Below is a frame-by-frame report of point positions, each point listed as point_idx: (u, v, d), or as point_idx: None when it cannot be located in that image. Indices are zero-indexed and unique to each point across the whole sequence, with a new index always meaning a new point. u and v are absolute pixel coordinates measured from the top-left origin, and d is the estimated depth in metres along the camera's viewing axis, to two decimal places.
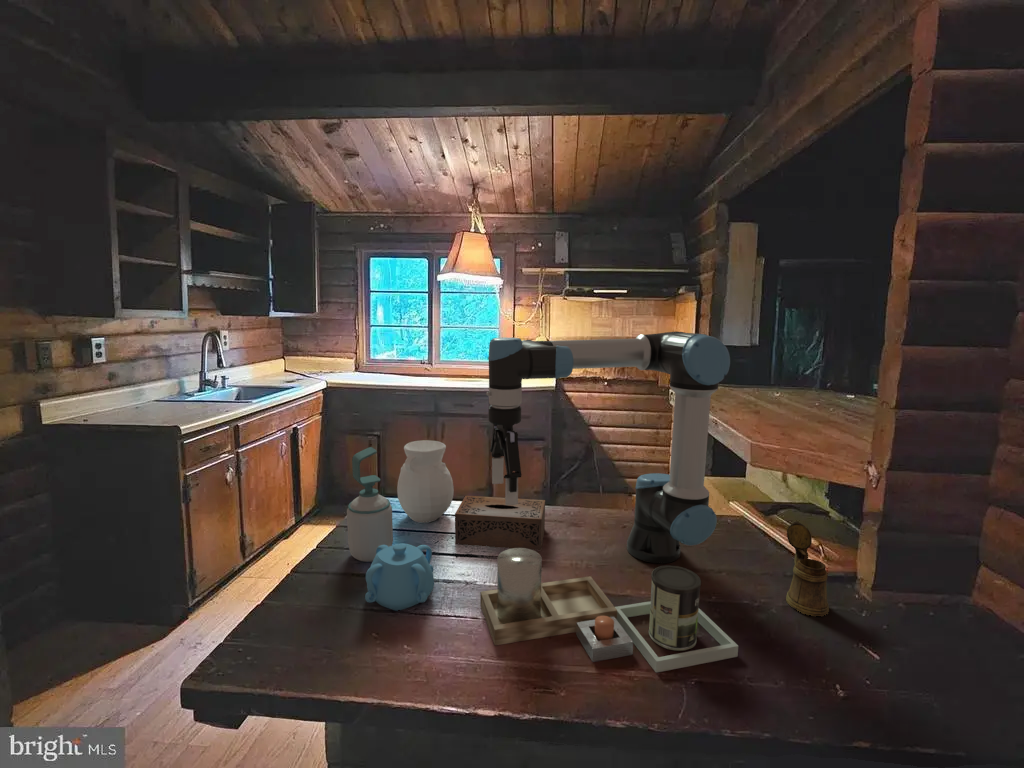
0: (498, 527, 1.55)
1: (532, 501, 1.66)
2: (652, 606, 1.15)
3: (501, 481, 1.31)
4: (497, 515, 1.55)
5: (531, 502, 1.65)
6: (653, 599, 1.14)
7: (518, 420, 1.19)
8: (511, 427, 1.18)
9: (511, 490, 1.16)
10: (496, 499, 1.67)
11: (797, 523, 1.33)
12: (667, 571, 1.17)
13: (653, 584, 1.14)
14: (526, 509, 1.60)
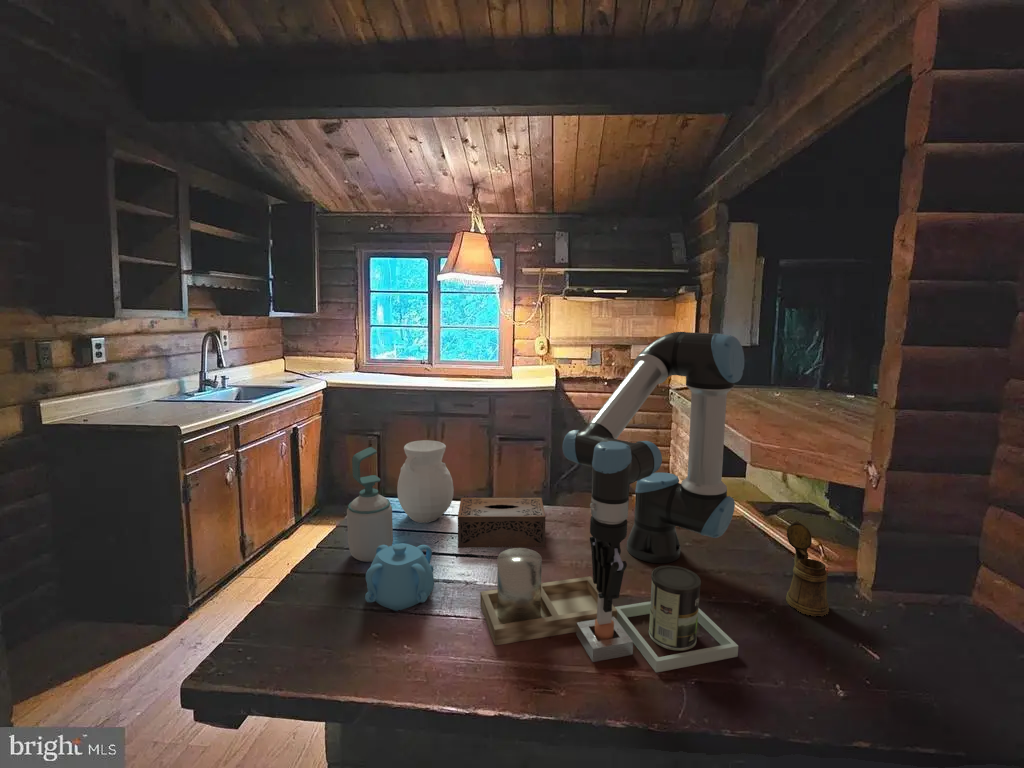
0: (502, 527, 1.55)
1: (529, 499, 1.68)
2: (652, 606, 1.15)
3: None
4: (501, 515, 1.55)
5: (529, 500, 1.67)
6: (653, 599, 1.14)
7: (625, 535, 1.07)
8: (618, 544, 1.06)
9: (606, 610, 1.10)
10: (493, 499, 1.67)
11: (797, 523, 1.33)
12: (667, 571, 1.17)
13: (653, 584, 1.14)
14: (526, 507, 1.61)
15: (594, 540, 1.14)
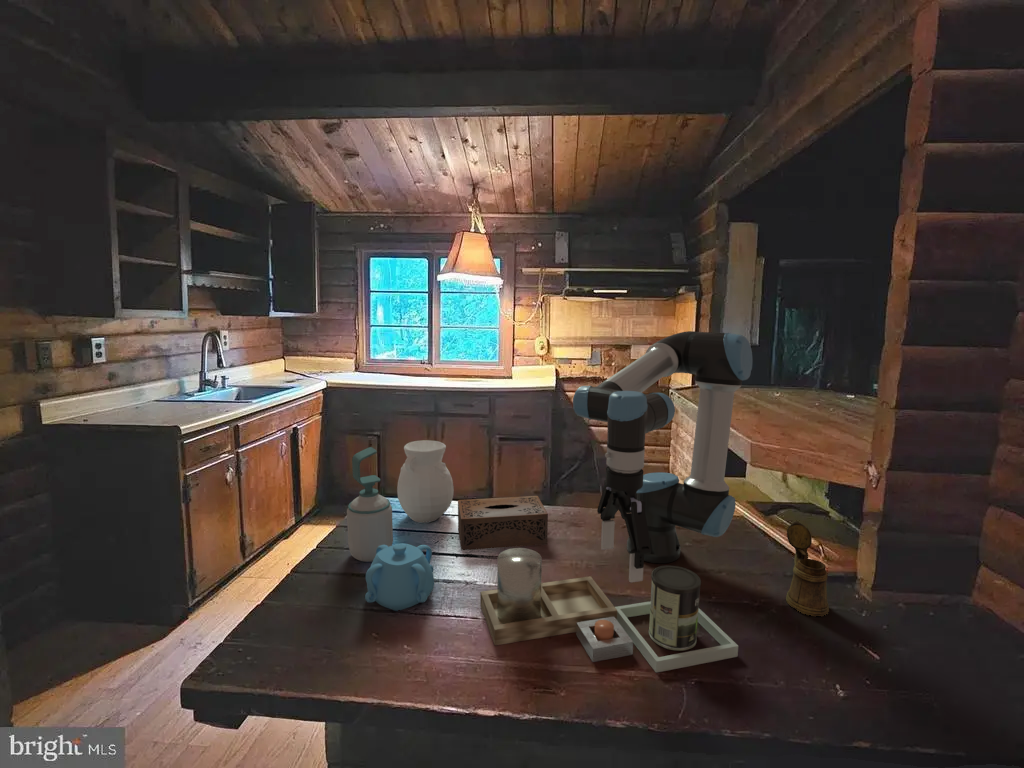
0: (505, 526, 1.55)
1: (526, 497, 1.69)
2: (652, 606, 1.15)
3: (611, 546, 1.17)
4: (504, 515, 1.55)
5: (526, 499, 1.68)
6: (653, 599, 1.14)
7: (641, 485, 1.06)
8: (635, 494, 1.05)
9: (638, 566, 1.02)
10: (491, 500, 1.67)
11: (797, 523, 1.33)
12: (667, 571, 1.17)
13: (653, 584, 1.14)
14: (526, 506, 1.62)
15: None
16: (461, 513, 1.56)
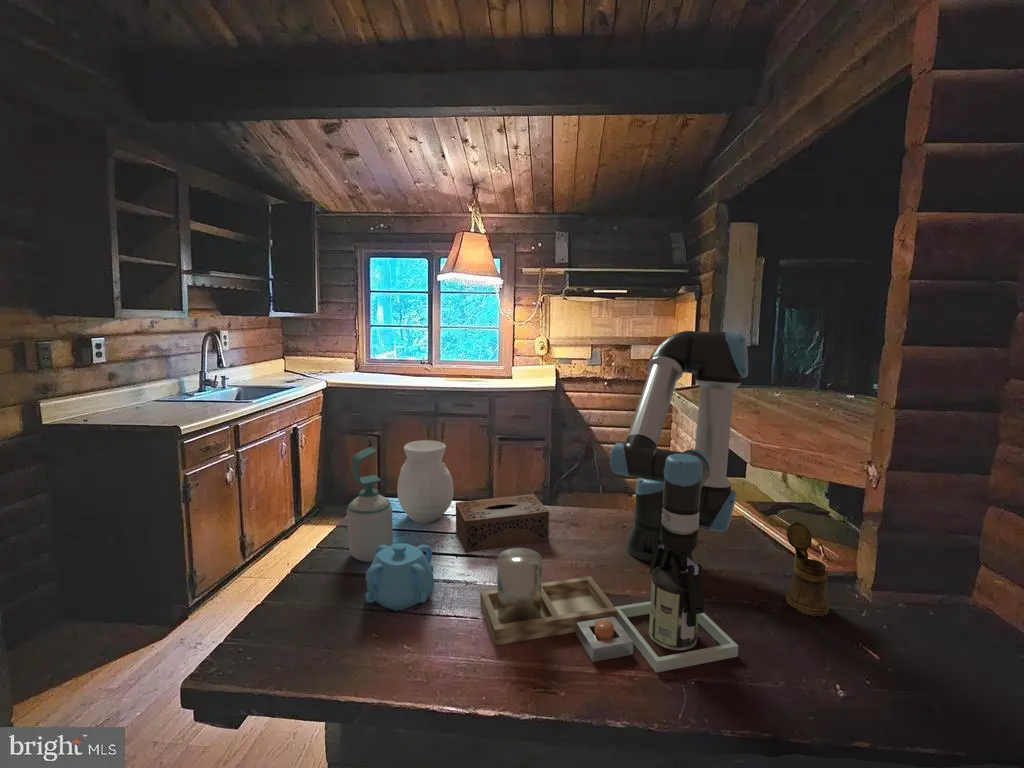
0: (508, 526, 1.56)
1: (523, 496, 1.70)
2: (652, 606, 1.15)
3: None
4: (506, 515, 1.56)
5: (523, 498, 1.69)
6: (653, 599, 1.14)
7: (696, 545, 1.11)
8: (690, 554, 1.10)
9: (690, 625, 1.09)
10: (489, 500, 1.66)
11: (797, 523, 1.33)
12: (667, 571, 1.17)
13: (653, 584, 1.14)
14: (525, 504, 1.63)
15: (661, 542, 1.18)
16: (463, 515, 1.55)
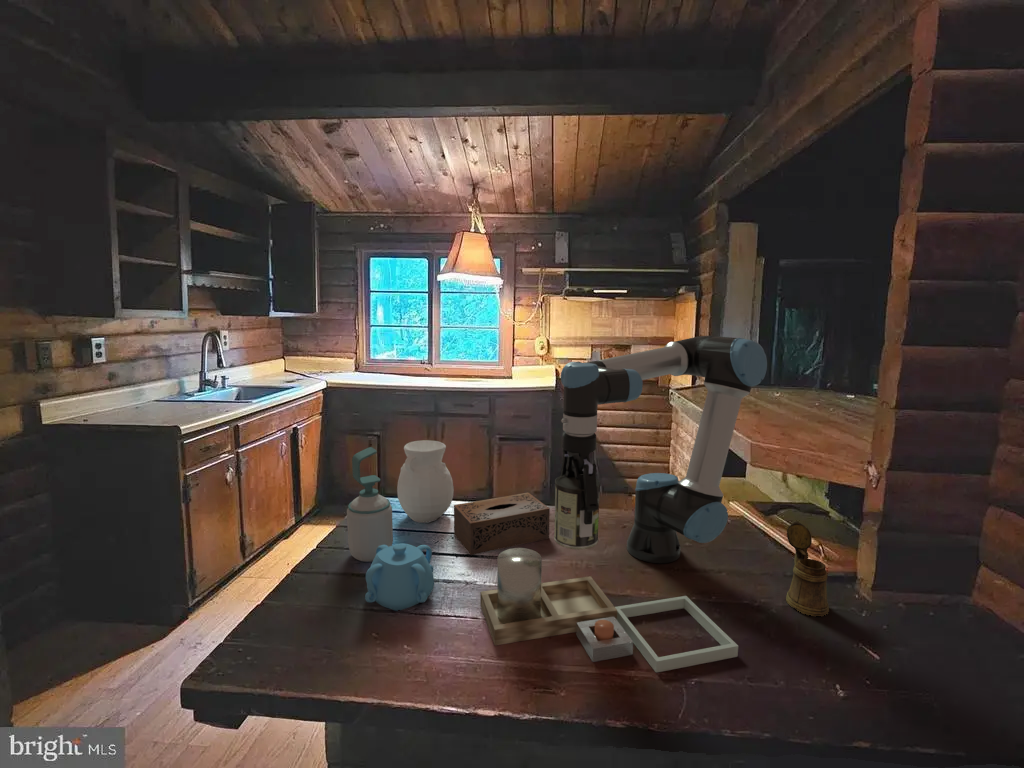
0: (511, 526, 1.56)
1: (519, 495, 1.71)
2: (555, 509, 1.20)
3: None
4: (509, 514, 1.56)
5: (520, 496, 1.70)
6: (556, 502, 1.19)
7: (594, 448, 1.16)
8: (587, 455, 1.15)
9: (587, 522, 1.14)
10: (487, 501, 1.66)
11: (797, 523, 1.33)
12: (571, 478, 1.22)
13: (555, 488, 1.19)
14: (524, 503, 1.64)
15: (566, 452, 1.24)
16: (466, 517, 1.54)
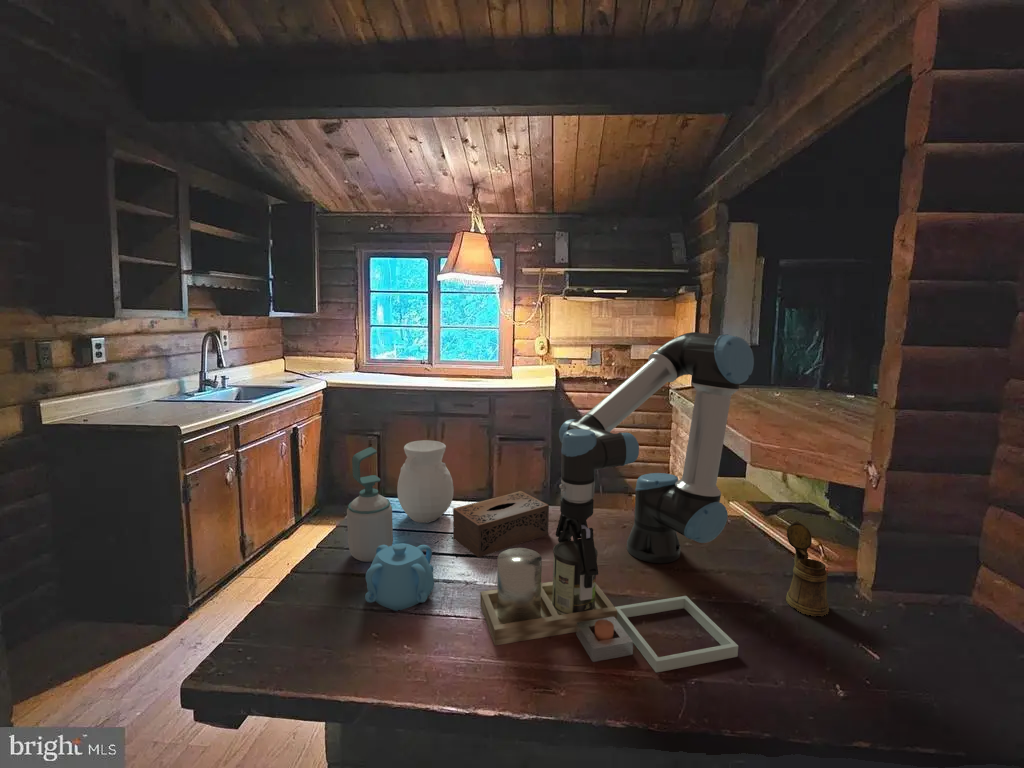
0: (515, 525, 1.57)
1: (514, 494, 1.72)
2: (553, 577, 1.23)
3: None
4: (513, 514, 1.56)
5: (515, 495, 1.71)
6: (554, 571, 1.23)
7: (591, 513, 1.19)
8: (585, 521, 1.18)
9: (587, 586, 1.15)
10: (485, 502, 1.65)
11: (797, 523, 1.33)
12: (569, 545, 1.26)
13: (554, 557, 1.23)
14: (522, 501, 1.66)
15: None
16: (472, 520, 1.52)
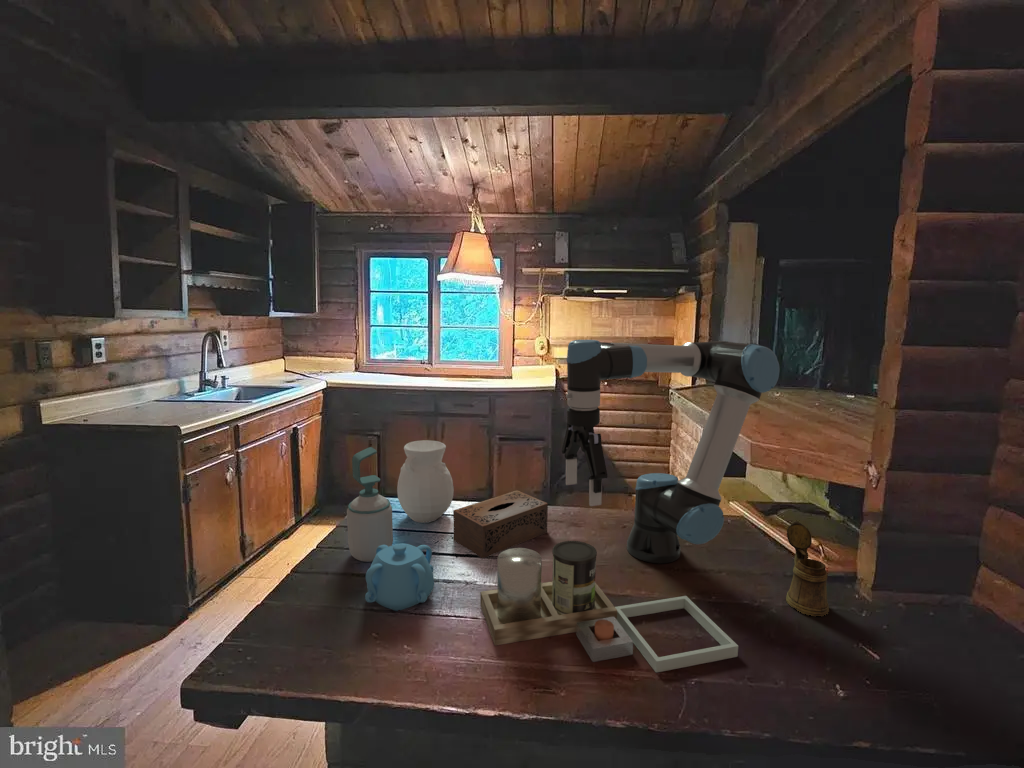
0: (517, 524, 1.57)
1: (511, 494, 1.72)
2: (553, 577, 1.23)
3: (575, 482, 1.32)
4: (515, 513, 1.57)
5: (512, 495, 1.71)
6: (553, 571, 1.23)
7: (598, 421, 1.20)
8: (592, 428, 1.19)
9: (596, 491, 1.17)
10: (484, 503, 1.64)
11: (797, 523, 1.33)
12: (568, 545, 1.26)
13: (553, 557, 1.23)
14: (521, 501, 1.66)
15: (570, 425, 1.28)
16: (475, 521, 1.51)
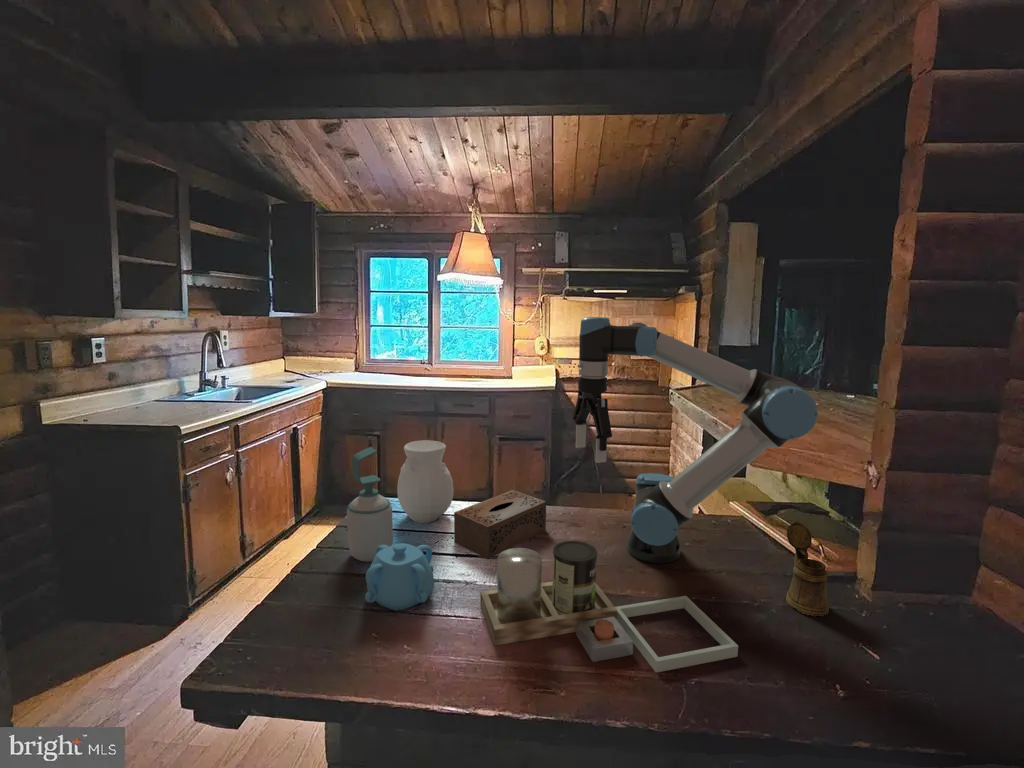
0: (519, 523, 1.58)
1: (507, 493, 1.72)
2: (553, 577, 1.23)
3: (583, 445, 1.48)
4: (516, 513, 1.57)
5: (509, 494, 1.71)
6: (554, 571, 1.23)
7: (605, 389, 1.37)
8: (600, 395, 1.36)
9: (602, 449, 1.33)
10: (483, 504, 1.64)
11: (797, 523, 1.33)
12: (569, 545, 1.26)
13: (553, 557, 1.23)
14: (519, 500, 1.67)
15: (581, 394, 1.44)
16: (479, 522, 1.51)
